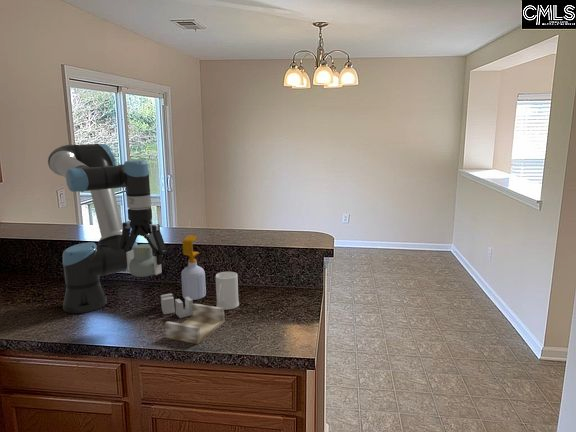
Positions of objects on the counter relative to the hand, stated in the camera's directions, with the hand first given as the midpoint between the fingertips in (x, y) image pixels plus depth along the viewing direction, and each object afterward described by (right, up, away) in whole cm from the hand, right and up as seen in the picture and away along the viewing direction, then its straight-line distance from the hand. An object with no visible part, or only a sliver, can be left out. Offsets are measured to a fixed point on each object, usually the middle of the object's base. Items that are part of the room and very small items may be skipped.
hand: (144, 271), depth 147 cm
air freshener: (0, -1, 0) cm, 1 cm away
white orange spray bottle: (+11, -13, +25) cm, 31 cm away
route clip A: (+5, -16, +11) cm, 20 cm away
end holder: (+18, -19, -3) cm, 26 cm away
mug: (+25, -15, +14) cm, 33 cm away
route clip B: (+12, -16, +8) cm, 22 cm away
